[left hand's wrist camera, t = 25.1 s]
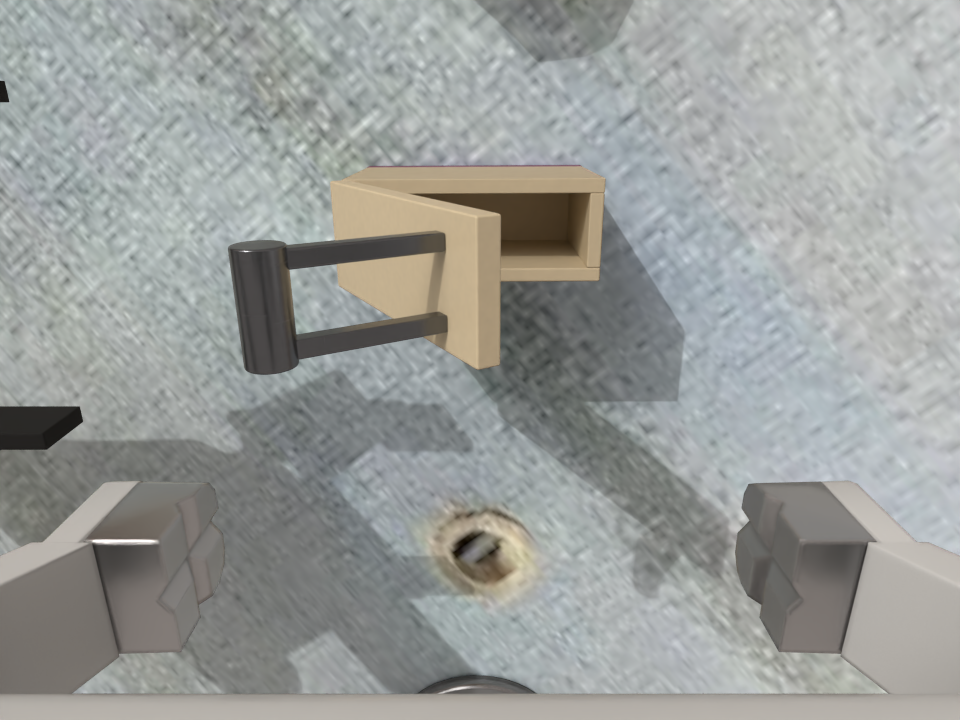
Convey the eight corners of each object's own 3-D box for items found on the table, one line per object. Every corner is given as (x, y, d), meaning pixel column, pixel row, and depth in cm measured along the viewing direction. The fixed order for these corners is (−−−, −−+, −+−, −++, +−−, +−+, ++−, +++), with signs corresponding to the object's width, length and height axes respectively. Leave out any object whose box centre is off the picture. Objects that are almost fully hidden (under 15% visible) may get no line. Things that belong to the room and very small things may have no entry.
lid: (501, 213, 22) (243, 236, 18) (501, 366, 24) (266, 417, 20) (348, 180, 34) (171, 189, 30) (355, 283, 36) (190, 306, 32)
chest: (579, 165, 43) (605, 177, 35) (576, 248, 45) (599, 281, 36) (369, 166, 43) (341, 179, 35) (374, 249, 45) (348, 282, 36)
